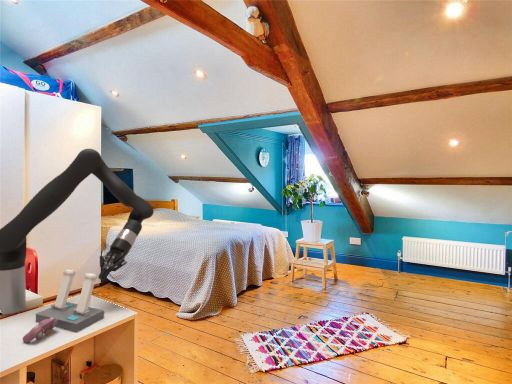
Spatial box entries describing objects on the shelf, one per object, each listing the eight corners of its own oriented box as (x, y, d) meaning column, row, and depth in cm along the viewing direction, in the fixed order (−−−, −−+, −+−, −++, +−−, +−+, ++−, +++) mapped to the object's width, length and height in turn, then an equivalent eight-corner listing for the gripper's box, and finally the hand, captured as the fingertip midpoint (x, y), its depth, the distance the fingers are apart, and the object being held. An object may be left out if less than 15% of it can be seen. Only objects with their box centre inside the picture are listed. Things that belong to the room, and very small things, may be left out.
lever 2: (74, 312, 116) (85, 272, 120) (79, 312, 119) (90, 273, 122) (81, 314, 115) (92, 273, 119) (87, 314, 117) (97, 274, 121)
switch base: (35, 321, 117) (35, 309, 117) (65, 308, 128) (65, 297, 128) (76, 332, 110) (76, 319, 110) (103, 317, 121) (103, 306, 121)
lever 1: (52, 307, 120) (64, 268, 124) (58, 307, 122) (69, 269, 126) (59, 309, 119) (71, 270, 123) (65, 309, 121) (76, 270, 125)
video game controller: (30, 349, 102) (38, 331, 101) (19, 341, 103) (27, 323, 102) (55, 333, 112) (63, 317, 111) (45, 326, 112) (53, 310, 112)
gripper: (106, 235, 135) (82, 272, 125) (132, 238, 131) (108, 277, 120) (116, 245, 141) (93, 281, 130) (140, 248, 136) (119, 286, 125)
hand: (101, 279), depth 125 cm, fingers closed
